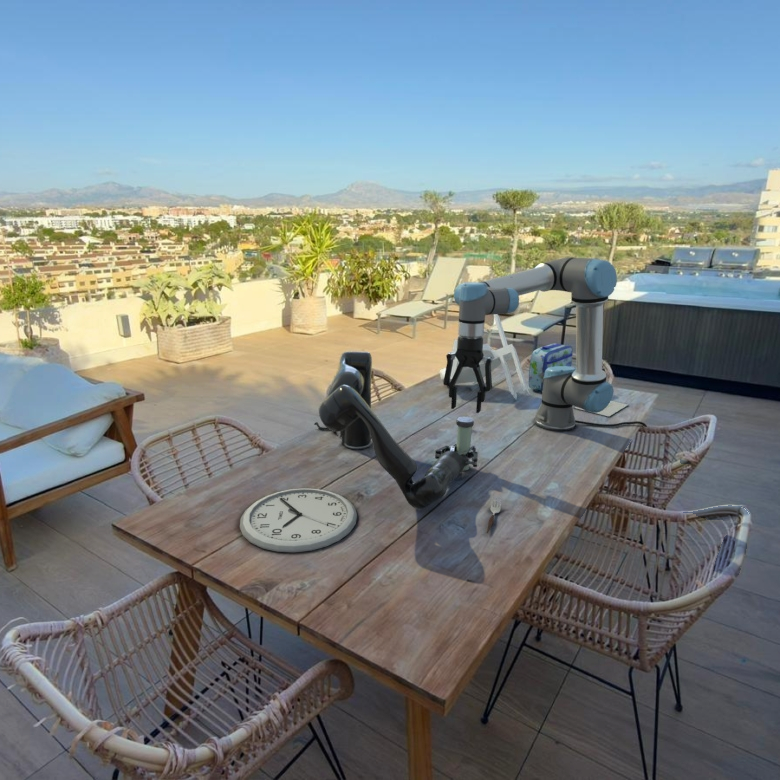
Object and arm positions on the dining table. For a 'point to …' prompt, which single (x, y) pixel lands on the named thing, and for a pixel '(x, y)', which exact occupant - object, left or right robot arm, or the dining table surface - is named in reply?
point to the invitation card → (609, 408)
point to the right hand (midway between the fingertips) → (465, 409)
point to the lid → (465, 422)
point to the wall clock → (298, 520)
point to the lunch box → (547, 362)
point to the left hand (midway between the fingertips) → (465, 447)
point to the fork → (493, 510)
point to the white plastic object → (498, 358)
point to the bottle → (464, 441)
